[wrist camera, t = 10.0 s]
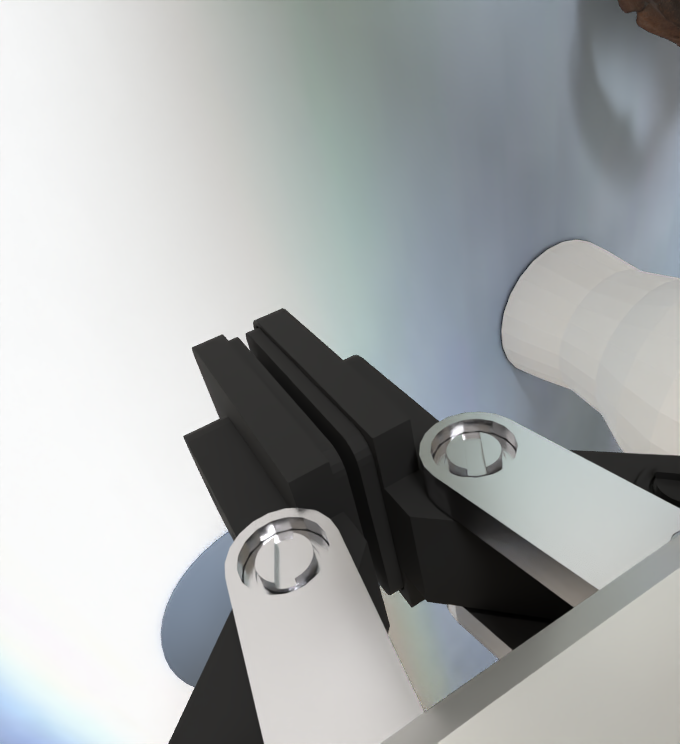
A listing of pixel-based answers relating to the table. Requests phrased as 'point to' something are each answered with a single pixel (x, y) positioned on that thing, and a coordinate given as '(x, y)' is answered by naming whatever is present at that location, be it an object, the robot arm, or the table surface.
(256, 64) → the table surface
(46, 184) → the table surface
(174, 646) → the disc
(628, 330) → the cup
